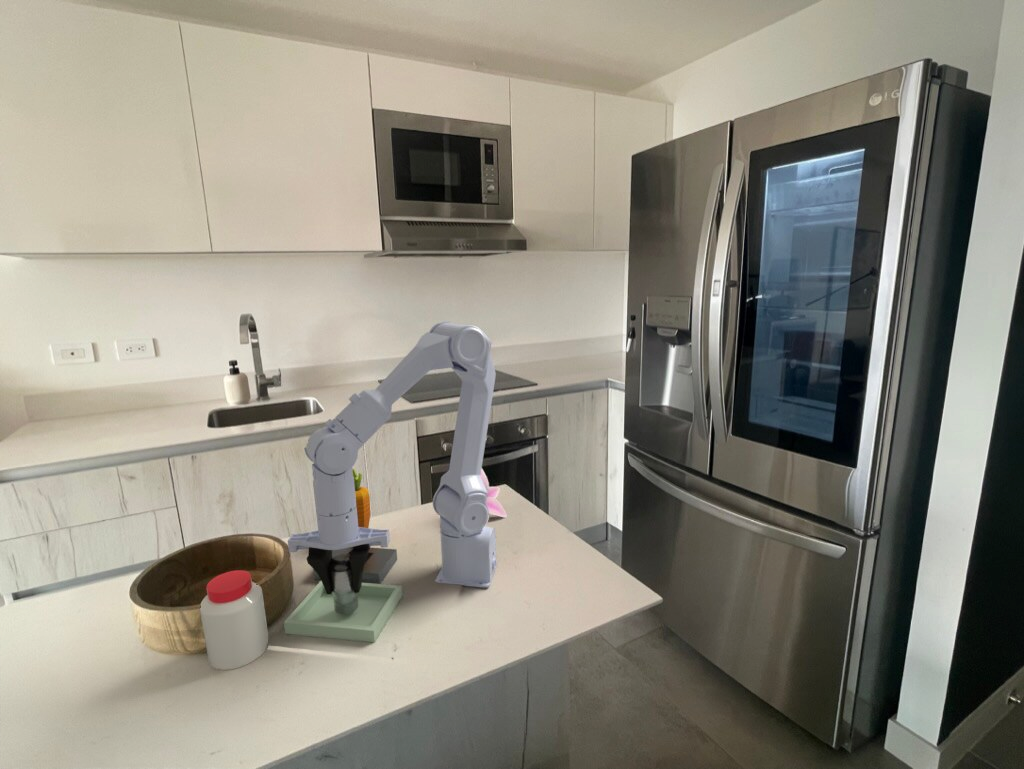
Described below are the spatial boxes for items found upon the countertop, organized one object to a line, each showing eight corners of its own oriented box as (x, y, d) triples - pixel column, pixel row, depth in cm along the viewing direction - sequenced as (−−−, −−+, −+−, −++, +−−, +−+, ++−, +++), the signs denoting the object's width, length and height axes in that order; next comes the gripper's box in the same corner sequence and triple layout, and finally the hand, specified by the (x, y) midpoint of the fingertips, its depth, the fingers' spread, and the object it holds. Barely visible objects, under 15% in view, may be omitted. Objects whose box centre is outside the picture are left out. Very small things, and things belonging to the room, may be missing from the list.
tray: (402, 598, 86) (401, 585, 85) (375, 645, 75) (373, 630, 75) (323, 592, 88) (322, 579, 87) (285, 636, 77) (283, 622, 77)
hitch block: (397, 562, 97) (396, 549, 96) (380, 587, 89) (378, 573, 88) (336, 557, 99) (335, 545, 98) (314, 582, 91) (313, 568, 90)
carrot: (369, 548, 102) (363, 476, 98) (344, 548, 102) (337, 476, 98) (376, 536, 106) (371, 466, 103) (352, 536, 106) (346, 466, 103)
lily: (453, 538, 107) (472, 504, 103) (439, 497, 116) (456, 464, 112) (502, 539, 113) (522, 508, 110) (485, 500, 122) (503, 470, 119)
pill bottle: (257, 624, 80) (248, 559, 78) (277, 649, 75) (268, 580, 72) (201, 650, 75) (189, 581, 73) (218, 679, 69) (206, 605, 67)
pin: (360, 598, 83) (356, 552, 82) (356, 612, 80) (352, 565, 78) (336, 601, 83) (332, 554, 81) (332, 615, 79) (327, 567, 78)
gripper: (390, 494, 82) (396, 572, 85) (295, 498, 81) (304, 577, 84) (382, 514, 75) (388, 599, 78) (278, 519, 74) (289, 604, 77)
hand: (344, 589), depth 81 cm, fingers closed on pin, 3 cm apart
